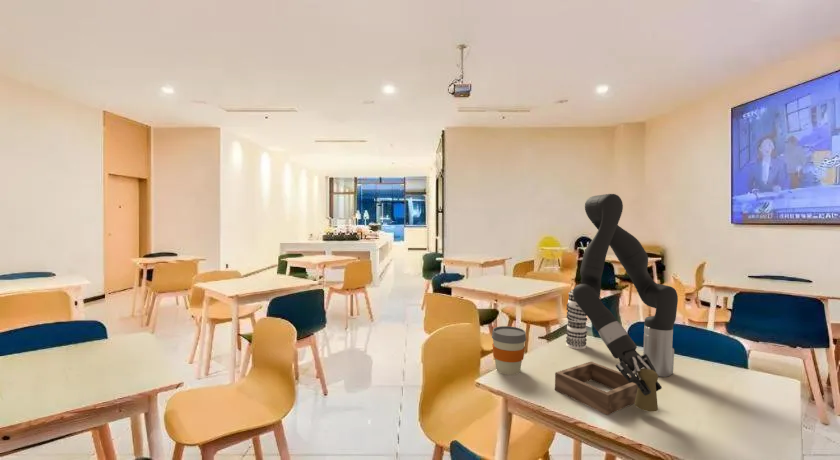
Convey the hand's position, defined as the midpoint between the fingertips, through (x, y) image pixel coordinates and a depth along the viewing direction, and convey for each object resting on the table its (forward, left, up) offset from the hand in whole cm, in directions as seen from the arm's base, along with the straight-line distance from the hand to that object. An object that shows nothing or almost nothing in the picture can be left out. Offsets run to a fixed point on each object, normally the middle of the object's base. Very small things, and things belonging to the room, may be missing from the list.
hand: (653, 391), depth 117 cm
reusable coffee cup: (+25, -42, -8) cm, 50 cm away
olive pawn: (+1, -2, -5) cm, 6 cm away
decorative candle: (-17, -60, -8) cm, 63 cm away
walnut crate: (+5, -17, -8) cm, 19 cm away
